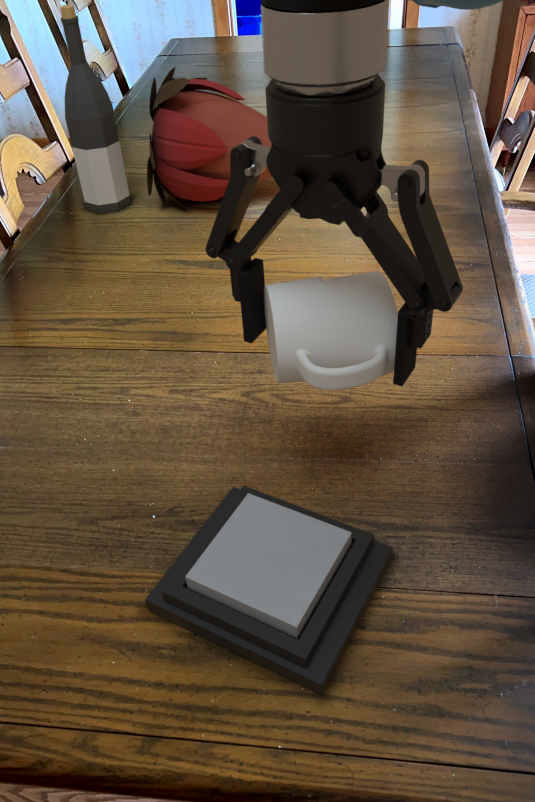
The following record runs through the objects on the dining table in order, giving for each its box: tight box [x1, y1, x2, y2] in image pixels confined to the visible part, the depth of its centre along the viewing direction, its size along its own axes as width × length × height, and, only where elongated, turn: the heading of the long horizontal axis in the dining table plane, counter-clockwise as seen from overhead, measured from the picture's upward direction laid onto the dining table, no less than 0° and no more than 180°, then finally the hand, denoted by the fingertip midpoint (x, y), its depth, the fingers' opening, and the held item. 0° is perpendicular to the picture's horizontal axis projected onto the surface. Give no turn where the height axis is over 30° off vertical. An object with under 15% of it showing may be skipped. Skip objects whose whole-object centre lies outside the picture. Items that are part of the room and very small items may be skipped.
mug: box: [264, 270, 398, 391], centre depth 57 cm, size 12×9×8 cm
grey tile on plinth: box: [185, 493, 352, 638], centre depth 59 cm, size 10×10×2 cm
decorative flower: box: [146, 66, 273, 211], centre depth 115 cm, size 22×23×30 cm
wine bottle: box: [59, 3, 131, 215], centre depth 112 cm, size 8×8×30 cm
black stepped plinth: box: [144, 485, 394, 696], centre depth 60 cm, size 16×14×3 cm
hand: (326, 354), depth 58 cm, fingers closed on mug, 13 cm apart
